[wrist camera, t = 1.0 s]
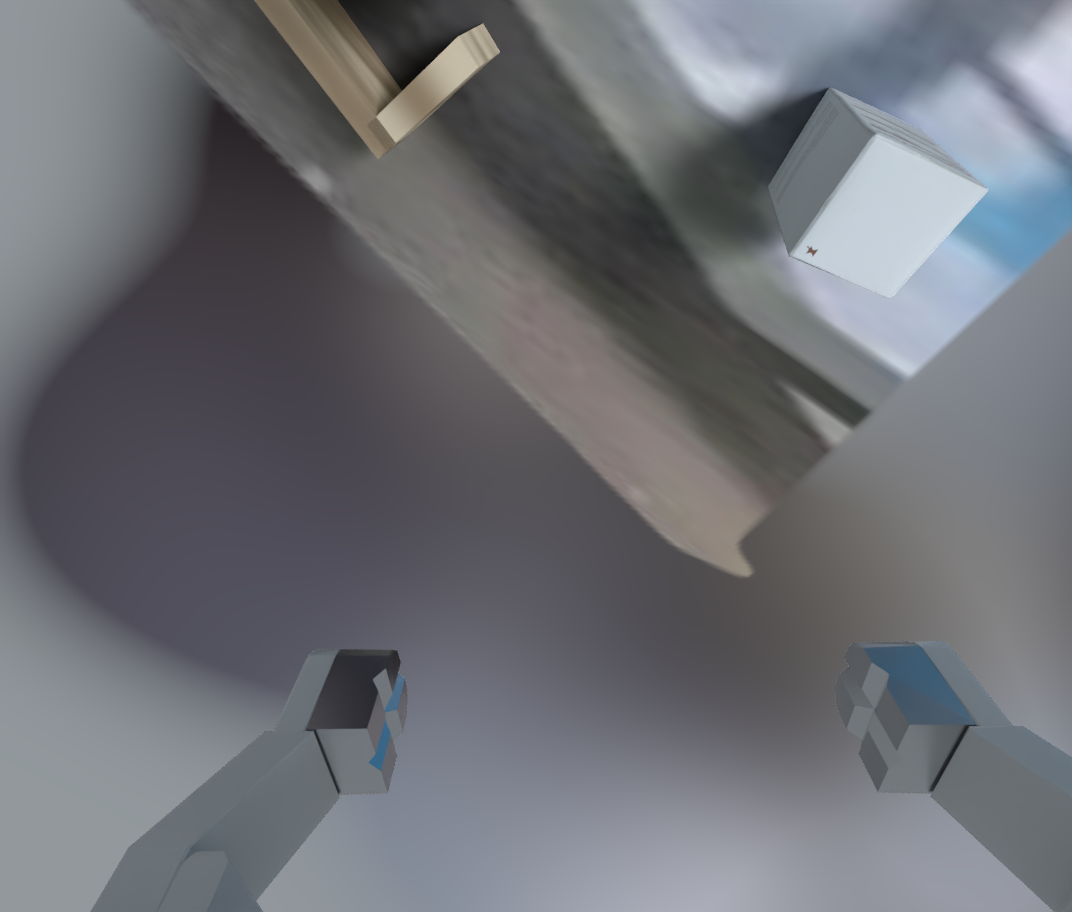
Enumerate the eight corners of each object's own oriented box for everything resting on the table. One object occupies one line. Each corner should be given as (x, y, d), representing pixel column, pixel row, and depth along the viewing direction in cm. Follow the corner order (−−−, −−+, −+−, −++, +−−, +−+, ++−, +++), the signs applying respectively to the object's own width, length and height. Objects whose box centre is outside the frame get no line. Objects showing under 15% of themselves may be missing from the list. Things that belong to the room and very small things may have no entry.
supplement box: (848, 226, 44) (888, 305, 35) (764, 186, 43) (783, 257, 34) (924, 127, 39) (995, 190, 30) (830, 80, 38) (874, 131, 29)
